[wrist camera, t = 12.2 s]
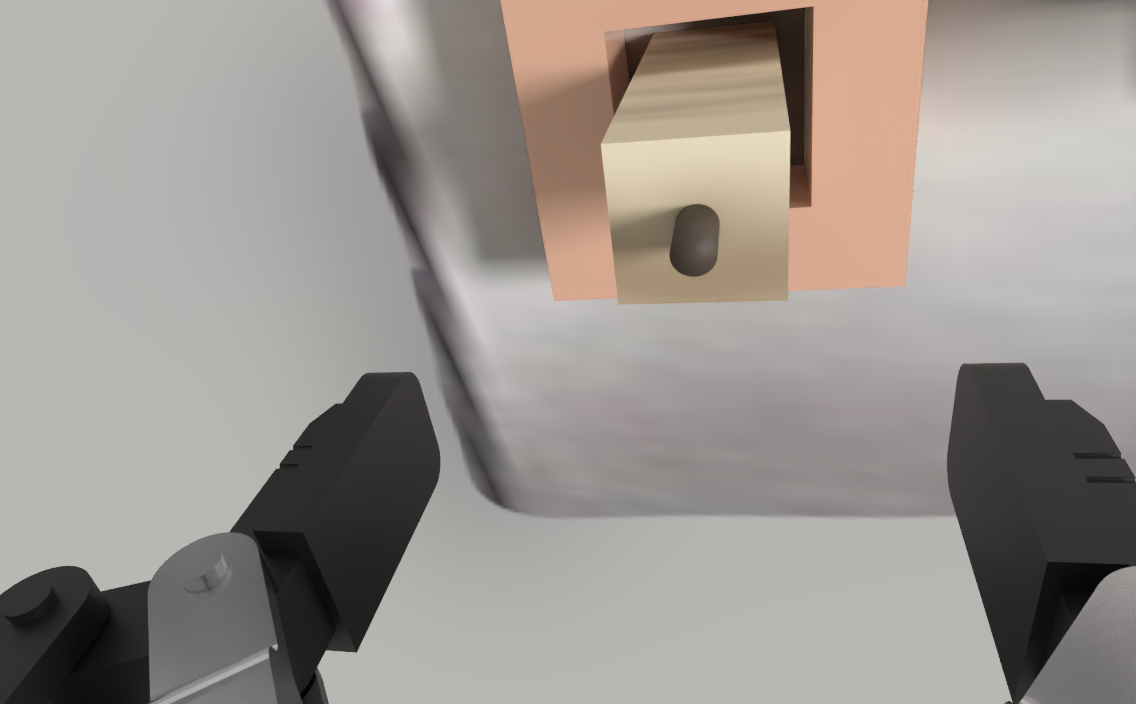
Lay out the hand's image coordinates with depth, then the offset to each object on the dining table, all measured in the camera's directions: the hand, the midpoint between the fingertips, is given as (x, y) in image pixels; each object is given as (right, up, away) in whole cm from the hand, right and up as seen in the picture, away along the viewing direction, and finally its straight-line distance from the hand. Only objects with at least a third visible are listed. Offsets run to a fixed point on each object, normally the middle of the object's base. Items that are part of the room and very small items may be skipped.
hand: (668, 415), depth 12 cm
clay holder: (+4, +10, +16) cm, 19 cm away
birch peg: (+4, +10, +16) cm, 19 cm away
